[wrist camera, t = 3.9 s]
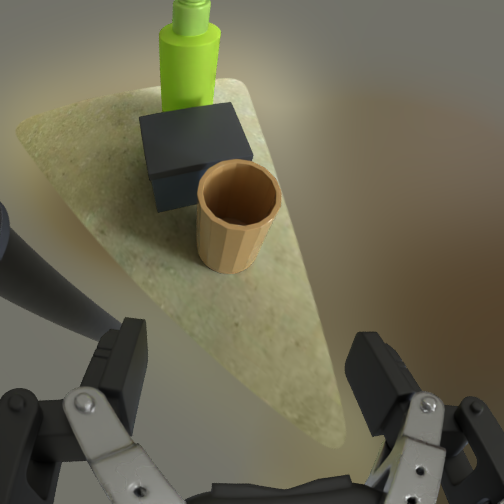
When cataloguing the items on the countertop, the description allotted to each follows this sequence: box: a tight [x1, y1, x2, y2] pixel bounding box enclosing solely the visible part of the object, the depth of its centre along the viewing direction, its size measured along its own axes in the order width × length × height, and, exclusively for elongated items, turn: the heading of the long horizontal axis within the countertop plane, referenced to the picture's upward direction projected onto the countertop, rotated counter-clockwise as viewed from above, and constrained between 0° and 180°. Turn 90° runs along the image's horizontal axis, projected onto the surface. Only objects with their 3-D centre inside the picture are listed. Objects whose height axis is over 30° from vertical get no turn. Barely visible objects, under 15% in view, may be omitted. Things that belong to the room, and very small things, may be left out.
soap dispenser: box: [159, 0, 221, 112], centre depth 27 cm, size 6×7×20 cm
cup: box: [196, 159, 281, 274], centre depth 27 cm, size 6×6×10 cm
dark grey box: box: [139, 102, 253, 213], centre depth 31 cm, size 9×7×7 cm
